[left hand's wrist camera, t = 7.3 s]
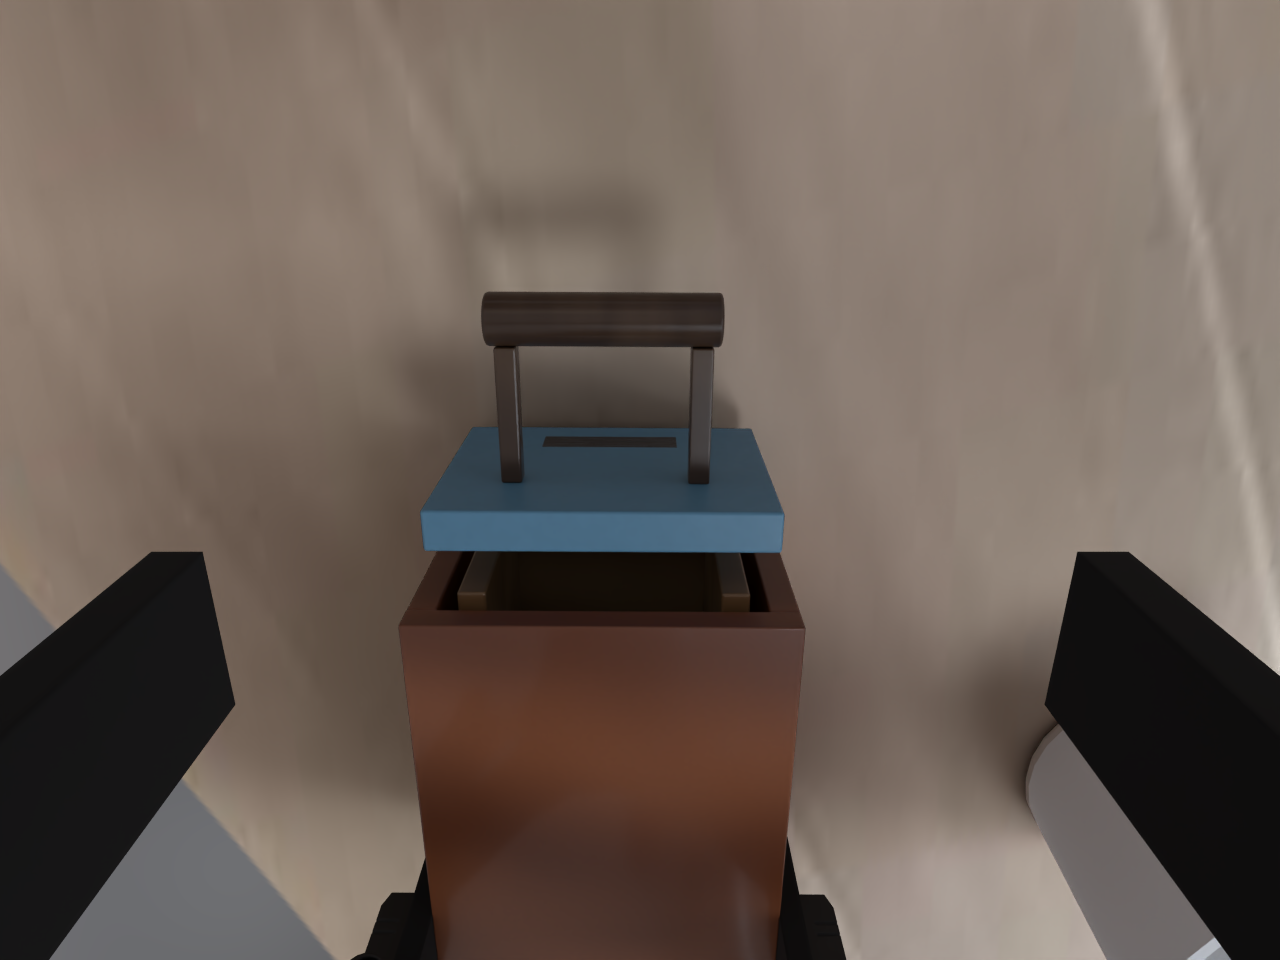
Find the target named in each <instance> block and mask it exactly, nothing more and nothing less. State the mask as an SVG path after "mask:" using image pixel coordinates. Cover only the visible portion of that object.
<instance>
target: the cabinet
mask: <svg viewBox="0 0 1280 960" xmlns="http://www.w3.org/2000/svg"><path fill="white" fill-rule="evenodd" d="M474 553H475V551H437V553H436V555H435V557H434V559H433V561H432V563H431V564H430V566H429V568H428V570H427V572H426V574H425V576H424V578H423V580H422V582H421V584H420V586H419V588H418V590H417V592H416V593H415V595H414V597H413V599H412V601H411V603H410V605H409V607H408V609H407V611H406V612H405V614H404V616H403V618H402V620H401V622H400V624H399V626H398V627H399V636H400V644H401V653H402V662H403V670H404V679H405V687H406V696H407V704H408V713H409V721H410V730H411V738H412V747H413V755H414V764H415V772H416V781H417V789H418V798H419V806H420V815H421V823H422V832H423V840H424V849H425V858H426V866H427V875H428V883H429V892H430V900H431V909H432V916H433V925H434V934H435V942H436V951H437V959H438V960H776V951H777V940H778V929H779V917H780V909H781V898H782V886H783V875H784V864H785V853H786V842H787V831H788V819H789V808H790V797H791V786H792V775H793V763H794V752H795V741H796V730H797V719H798V708H799V696H800V685H801V674H802V663H803V652H804V640H805V626H804V623H803V620H802V617H801V614H800V611H799V608H798V605H797V602H796V599H795V596H794V593H793V590H792V588H791V585H790V582H789V579H788V576H787V573H786V570H785V567H784V564H783V561H782V558H781V555H780V553H740V555H741V559H742V563H743V567H744V571H745V575H746V580H747V584H748V588H749V592H750V609H749V612H638V611H472V610H459V609H458V597H457V593H458V591H459V588H460V586H461V583H462V581H463V579H464V576H465V574H466V572H467V569H468V567H469V565H470V562H471V560H472V557H473V555H474Z"/></svg>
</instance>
